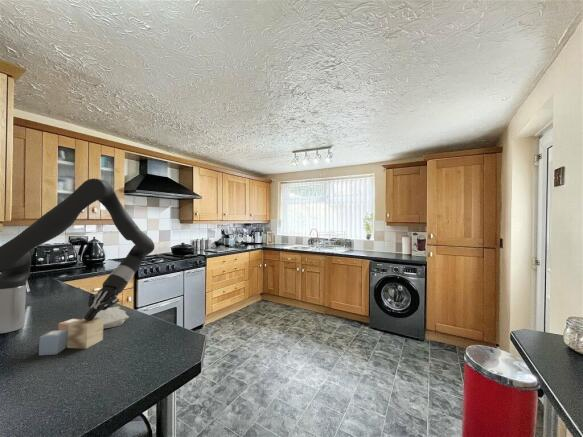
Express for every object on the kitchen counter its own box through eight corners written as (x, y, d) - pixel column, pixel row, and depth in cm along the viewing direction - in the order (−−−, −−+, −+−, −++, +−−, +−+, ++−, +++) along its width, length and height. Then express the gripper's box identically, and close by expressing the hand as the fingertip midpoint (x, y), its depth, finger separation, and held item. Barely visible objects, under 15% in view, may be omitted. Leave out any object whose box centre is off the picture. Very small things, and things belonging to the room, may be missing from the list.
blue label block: (38, 355, 82) (39, 336, 82) (50, 348, 87) (51, 330, 87) (56, 354, 83) (57, 335, 83) (67, 347, 87) (67, 329, 88)
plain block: (67, 347, 87) (68, 324, 87) (84, 338, 94) (85, 317, 94) (86, 348, 86) (87, 325, 87) (102, 339, 93) (103, 318, 94)
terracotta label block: (57, 339, 93) (58, 322, 93) (72, 334, 98) (73, 318, 98) (67, 341, 92) (68, 324, 92) (82, 335, 97) (82, 319, 97)
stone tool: (88, 317, 118) (93, 332, 100) (88, 308, 118) (94, 322, 100) (121, 311, 127) (131, 324, 109) (121, 303, 127) (132, 315, 109)
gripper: (100, 272, 102) (65, 313, 90) (126, 274, 98) (93, 316, 86) (112, 282, 107) (80, 322, 95) (137, 285, 103) (108, 326, 91)
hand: (87, 319), depth 90 cm, fingers closed
